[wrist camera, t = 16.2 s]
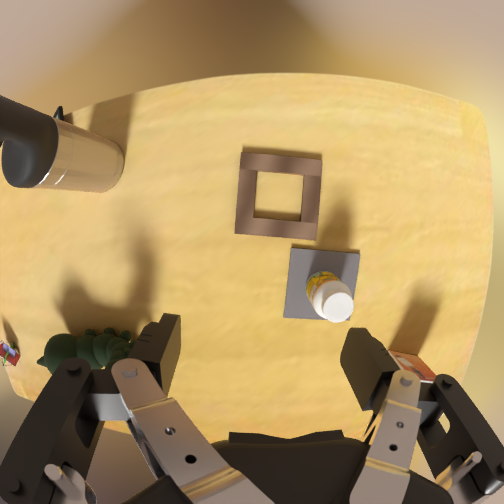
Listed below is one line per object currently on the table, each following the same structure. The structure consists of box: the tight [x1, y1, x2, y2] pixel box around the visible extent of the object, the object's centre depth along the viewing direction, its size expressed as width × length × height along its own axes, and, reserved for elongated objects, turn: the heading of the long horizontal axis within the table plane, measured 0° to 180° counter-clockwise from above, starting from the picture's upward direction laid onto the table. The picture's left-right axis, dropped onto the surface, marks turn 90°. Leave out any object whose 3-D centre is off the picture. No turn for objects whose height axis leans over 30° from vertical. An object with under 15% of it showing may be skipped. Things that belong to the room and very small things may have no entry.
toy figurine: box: [37, 328, 136, 375], centre depth 36 cm, size 9×19×25 cm
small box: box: [388, 350, 436, 383], centre depth 38 cm, size 8×6×10 cm
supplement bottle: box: [306, 271, 354, 322], centre depth 36 cm, size 5×5×10 cm
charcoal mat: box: [283, 248, 360, 320], centre depth 41 cm, size 11×11×1 cm
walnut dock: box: [235, 153, 322, 240], centre depth 40 cm, size 12×12×1 cm
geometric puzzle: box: [0, 340, 20, 366], centre depth 44 cm, size 7×7×8 cm
